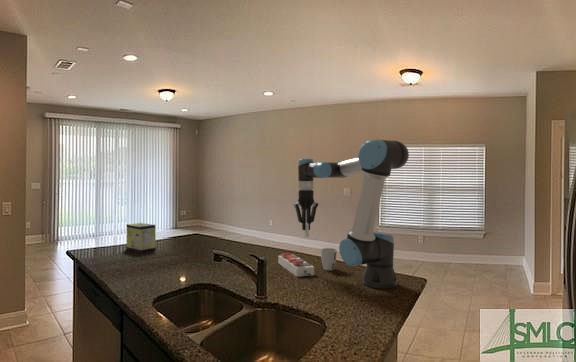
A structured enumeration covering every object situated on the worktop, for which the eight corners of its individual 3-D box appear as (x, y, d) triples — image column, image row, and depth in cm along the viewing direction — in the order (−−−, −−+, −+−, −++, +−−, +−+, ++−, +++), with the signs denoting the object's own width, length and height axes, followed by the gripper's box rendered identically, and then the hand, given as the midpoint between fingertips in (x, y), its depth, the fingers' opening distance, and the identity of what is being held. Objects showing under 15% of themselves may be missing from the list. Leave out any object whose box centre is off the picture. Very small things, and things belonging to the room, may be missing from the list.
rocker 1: (290, 255, 209) (290, 253, 209) (284, 256, 208) (284, 253, 208) (287, 255, 214) (287, 253, 214) (281, 256, 213) (280, 253, 213)
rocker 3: (303, 263, 192) (303, 260, 192) (296, 264, 191) (296, 261, 191) (299, 263, 197) (299, 260, 197) (292, 264, 196) (292, 261, 196)
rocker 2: (296, 261, 201) (296, 259, 201) (289, 262, 200) (290, 259, 200) (293, 257, 206) (293, 254, 205) (286, 257, 205) (286, 255, 204)
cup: (335, 271, 198) (336, 251, 198) (319, 270, 200) (319, 251, 200) (337, 267, 206) (337, 248, 206) (321, 266, 208) (321, 247, 208)
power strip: (319, 278, 186) (319, 269, 186) (301, 280, 183) (301, 270, 183) (293, 261, 218) (294, 253, 218) (278, 262, 215) (278, 255, 215)
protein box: (141, 246, 254) (140, 222, 254) (156, 249, 245) (156, 224, 245) (126, 249, 246) (126, 224, 245) (141, 252, 237) (141, 226, 236)
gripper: (314, 189, 206) (314, 234, 206) (291, 189, 201) (291, 236, 201) (321, 189, 199) (321, 236, 199) (296, 190, 194) (297, 238, 194)
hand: (306, 236), depth 200 cm, fingers closed
